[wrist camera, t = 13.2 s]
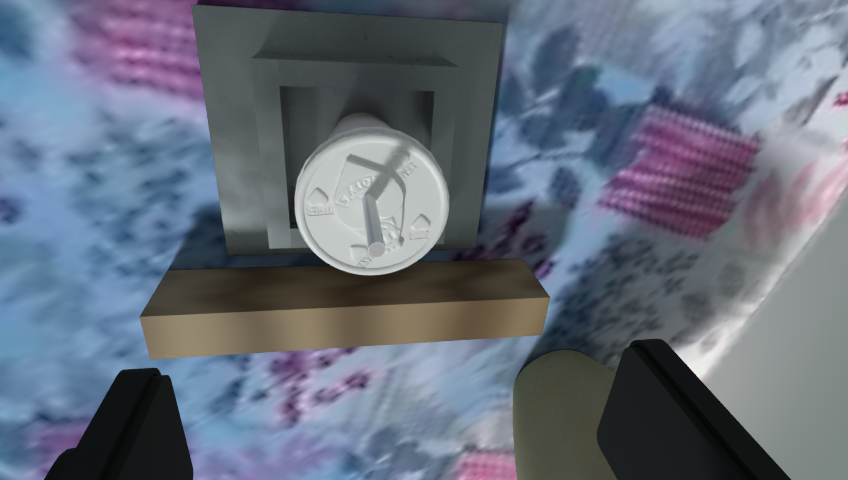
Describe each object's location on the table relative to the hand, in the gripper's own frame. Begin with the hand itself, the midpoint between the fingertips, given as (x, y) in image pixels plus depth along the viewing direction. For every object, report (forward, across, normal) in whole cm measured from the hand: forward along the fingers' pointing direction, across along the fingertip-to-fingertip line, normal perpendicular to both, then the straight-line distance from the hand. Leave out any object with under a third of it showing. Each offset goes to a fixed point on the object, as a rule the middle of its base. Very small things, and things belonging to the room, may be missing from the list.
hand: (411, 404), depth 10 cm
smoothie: (+20, 0, 0) cm, 20 cm away
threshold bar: (+21, 0, +11) cm, 24 cm away
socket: (+21, 0, +1) cm, 21 cm away
